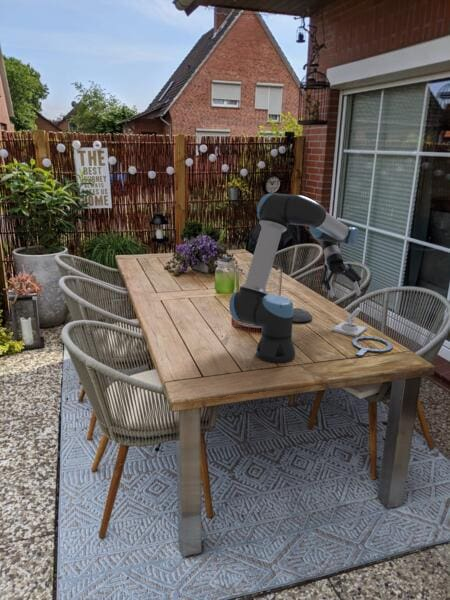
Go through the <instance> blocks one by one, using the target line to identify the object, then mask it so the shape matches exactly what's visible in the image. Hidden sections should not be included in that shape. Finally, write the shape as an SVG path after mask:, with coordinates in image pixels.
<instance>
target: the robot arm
mask: <svg viewBox="0 0 450 600" xmlns="http://www.w3.org/2000/svg"><path fill="white" fill-rule="evenodd" d="M256 212H257V213H256V216H257V218H258V220H259V223H258V224H259V225H260V227H261V229H260V231H259V236H258V238H257V242H256V245H255V249H254V252H253V256H252V259H251V263H250V266H249V269H248V272H247V276H246V280H245V282H244V283H243V284H242V285H241V286H240V287H239V290H237V291H235V292H234V293H233V294H232V295H230V299H229V303H228V306H229V312H230V315H231V316H232V318H233V319H234V320H236V321H239V322H241V323H246V324H249V325H253V326H256V327H260V328H261V337H260V339H259V341H258V344H257V347H256V353H255V355H256V357H257V358H258V359H260V360H261V361H264V362H267V363H271V364H272V363H273V364H283V363H288V362H292V361H293V360H294V359H295V357H296V349H295V346H294V343H293V339H292V336H293V335H292V334H293V322H294V321H293V314H294V312H293V308H294V304H293V302H292V300H291V299H289V298H288V297H285V296H283V295H280V294H277V295H276V294H268V292H267V286H268V283H269V278H270V275H271V271H272V268H273V265H274V261H275V259H276V254H277V251H278V248H279V244H280V241H281V237H282V234H283V233H285V232H287V230H288V228H289V227H288V226H289V225H295V226H306V227H309V233H310V234H311V236H312V237H313V238H314V239H315V240H316V241H317V242H318V243H319V244H320V246H321V249H322V252H323V254H324V258H325V261H326V263H325V264H324V265H323V266H322V273H321V280H320V284H321V285H323V286H324V287H325V288H326V290H327V291H328V293H329V297H330V298H333V297H334V296H335V295H336V294H335V292H334V291H335V290H334V288H333V285H332V282H330V281H331V279H332V277H333V276H334V275H342V276H345V277H346V278H347V279H349V280H350V281H351V282H352V285H353V288H354V292H355V295H356V297H359V296H360V295H361V294H362V291H361V289H360V288H361V285H360V282H361V281H362V277H361V276H360V275H359V274H358V273H357V272H356V270H355V269H354V268H353V267H352V265H351V263H347V264H345V263H344V260H343V257H342V253H341V250H340V248H339V245H338V243H339V244H345V245H356V244H357V242H359V238H360V231H359V229H358V228H357V227H353V226H347V225H346V224H344V223H343V222H341V221H340V220H339V219H337V218H336V217H334V216H333V215H331V214H330V213H328V212H327V210H326V208H325V207H324V206H323V205H322V204H320V203H318V202H317V201H315V200H313V199H311V198H309V197H307V196H304V195H300V194H289V193H288V194H287V193H277V192H275V193H267V194H265V195H264V196H262V197H261V198H260V200H259V202H258V204H257V209H256ZM328 270H329V271H330V273H329V275H328V276H327V273H328Z"/></svg>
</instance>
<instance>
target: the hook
mask: <svg viewBox="0 0 450 600" xmlns="http://www.w3.org/2000/svg"><path fill="white" fill-rule="evenodd" d="M360 312H361V308H359V307H357V308H356V309H355V310H354V311H352V312H351V314H350V315H348V317H347V319H346V322H345V323H343V325H342V326H341V328H342V329H344V330H347V331H357V330H358V326H359V325H358V324H356V323H354V321H353V320H354V318H355V317H357V316H358V314H360ZM357 325H358V326H357ZM347 326H354V327H347Z"/></svg>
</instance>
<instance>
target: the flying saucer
mask: <svg viewBox="0 0 450 600" xmlns="http://www.w3.org/2000/svg"><path fill="white" fill-rule="evenodd" d="M293 312H294V314H293V322H296V323H305V322H308V321H311V320H312V319H313V315H312V313H311V312H309V311H308V310H306V309H303V308H299V307H293Z"/></svg>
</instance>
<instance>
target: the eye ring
mask: <svg viewBox="0 0 450 600" xmlns="http://www.w3.org/2000/svg"><path fill="white" fill-rule="evenodd" d="M363 340H368V341H369V340H370V341H371V340H372V341H376V342H380V343H382V344H385V345H386V347H385V348H378V349H377V348H369V347H364V346H362V345H360V344H359V343H358V342H359V341H363ZM351 344H352V346H353V347H355V348H356V349H358V350H359V351H357V352H356V353H355V356H356V357H360V358H362V357H363V356H365V355H366V354H367V353H375V354H377V353H378V354H382V353H388V352H390V351H392V350H393V348H394V346H393V343H392V342H390V341H388V340H386V339H384V338H381V337H377V336H368V335H362V336H361V335H360V336H358V337H354V338H353V339H352V340H351Z"/></svg>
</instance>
